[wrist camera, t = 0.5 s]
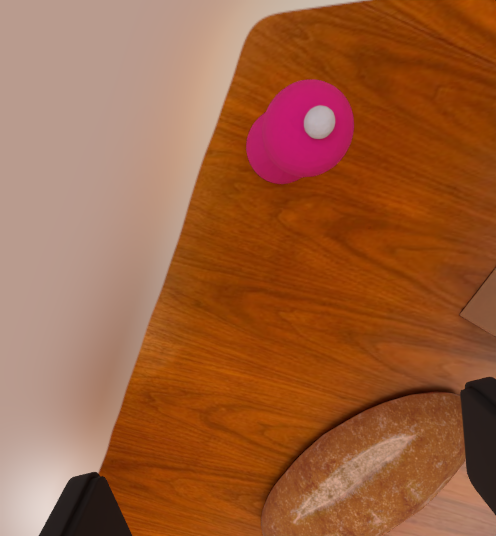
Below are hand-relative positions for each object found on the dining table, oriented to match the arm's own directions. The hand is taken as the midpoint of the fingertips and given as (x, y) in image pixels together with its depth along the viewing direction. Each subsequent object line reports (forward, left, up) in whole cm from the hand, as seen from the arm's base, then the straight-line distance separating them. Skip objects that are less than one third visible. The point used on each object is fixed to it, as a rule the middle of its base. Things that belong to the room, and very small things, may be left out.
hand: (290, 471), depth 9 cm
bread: (+34, +17, -33) cm, 50 cm away
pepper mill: (-10, +4, -33) cm, 35 cm away
